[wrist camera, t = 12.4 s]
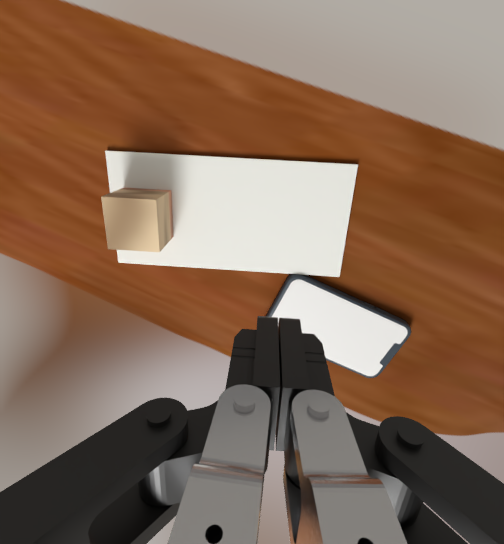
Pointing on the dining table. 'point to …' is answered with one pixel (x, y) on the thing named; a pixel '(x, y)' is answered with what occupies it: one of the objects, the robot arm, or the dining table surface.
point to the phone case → (342, 324)
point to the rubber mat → (244, 211)
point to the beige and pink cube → (138, 219)
